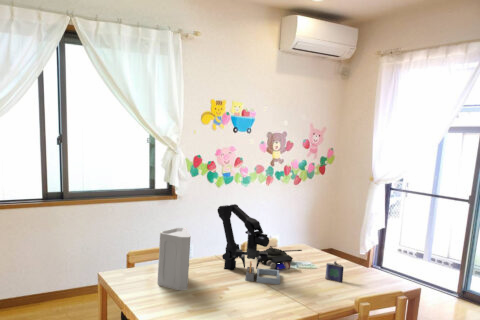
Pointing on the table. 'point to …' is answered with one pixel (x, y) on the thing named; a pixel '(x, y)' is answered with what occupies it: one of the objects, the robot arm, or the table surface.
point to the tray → (269, 272)
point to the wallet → (334, 272)
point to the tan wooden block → (250, 266)
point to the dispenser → (250, 274)
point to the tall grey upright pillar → (174, 258)
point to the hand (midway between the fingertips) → (250, 268)
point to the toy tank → (275, 254)
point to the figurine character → (285, 263)
